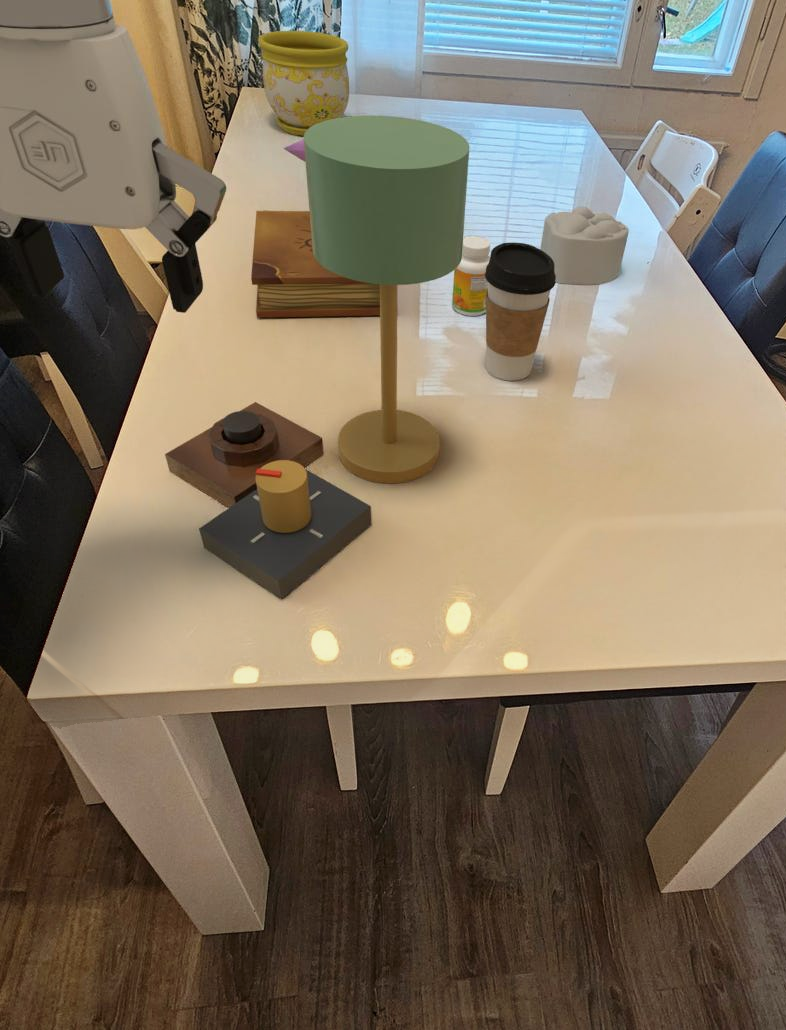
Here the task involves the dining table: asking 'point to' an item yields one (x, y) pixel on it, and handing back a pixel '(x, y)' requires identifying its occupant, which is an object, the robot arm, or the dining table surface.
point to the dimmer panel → (286, 537)
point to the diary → (301, 273)
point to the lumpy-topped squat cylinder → (584, 246)
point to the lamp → (387, 253)
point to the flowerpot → (304, 77)
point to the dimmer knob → (284, 496)
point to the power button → (242, 427)
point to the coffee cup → (516, 307)
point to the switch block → (241, 455)
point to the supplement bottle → (471, 277)
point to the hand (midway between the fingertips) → (118, 295)
